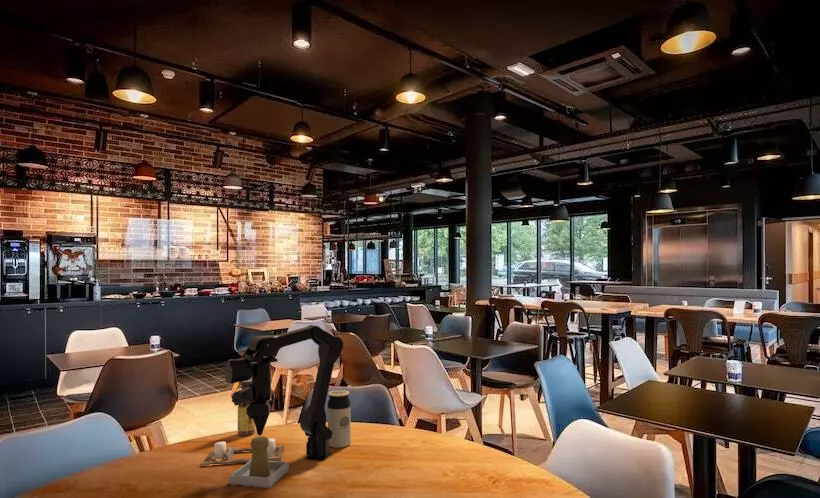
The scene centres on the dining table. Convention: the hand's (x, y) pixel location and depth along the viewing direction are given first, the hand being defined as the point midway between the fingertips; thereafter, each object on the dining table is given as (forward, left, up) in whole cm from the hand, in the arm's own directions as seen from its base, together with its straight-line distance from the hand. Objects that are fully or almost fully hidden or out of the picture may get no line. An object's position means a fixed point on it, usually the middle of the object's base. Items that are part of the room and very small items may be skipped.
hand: (261, 430), depth 148 cm
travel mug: (-15, -28, -13) cm, 34 cm away
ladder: (+12, -12, -13) cm, 21 cm away
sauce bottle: (+24, -34, -13) cm, 43 cm away
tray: (-1, +3, -13) cm, 13 cm away
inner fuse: (+5, -14, -13) cm, 20 cm away
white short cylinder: (+20, -9, -13) cm, 25 cm away
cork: (-1, +3, -12) cm, 13 cm away
